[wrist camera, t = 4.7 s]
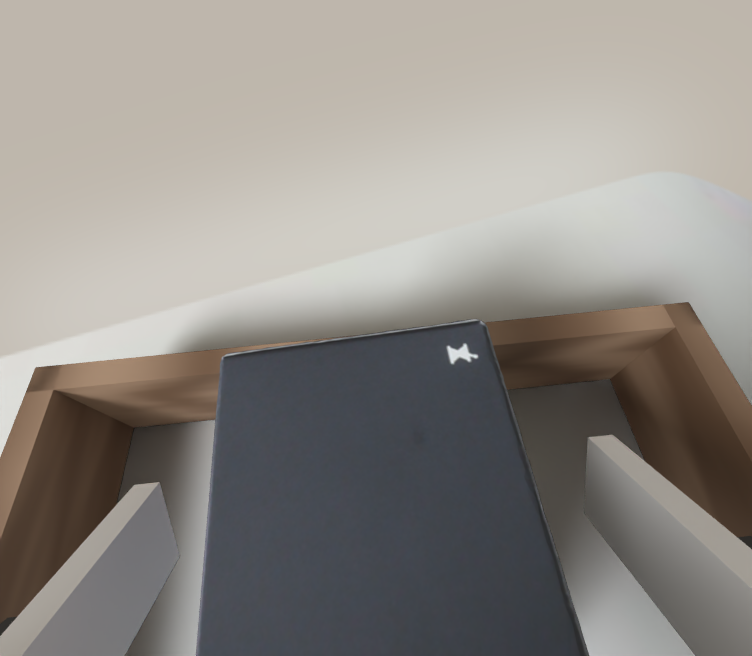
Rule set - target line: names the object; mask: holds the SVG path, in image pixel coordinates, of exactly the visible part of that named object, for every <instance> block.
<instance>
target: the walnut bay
mask: <svg viewBox="0 0 752 656" xmlns="http://www.w3.org/2000/svg"><path fill="white" fill-rule="evenodd" d="M485 324H486V325H487V327H488V330H489V334H490V337H491V340H492V344H493V347H494V351H495V354H496V357H497V360H498V363H499V366H500V370H501V372H502V375H503V378H504V383H505V386H506V388H507V390H509V389H518V388H528V387H538V386H548V385H558V384H567V383H577V382H587V381H597V380H607V379H610V381H611V383H612V385H613V388H614V390H615V392H616V395H617V397H618V399H619V401H620V404H621V406H622V408H623V411H624V413H625V415H626V418H627V420H628V422H629V425H630V427H631V429H632V432H633V434H634V436H635V439H636V441H637V443H638V446H639V448H640V450H641V453H642V455H643V457H644V460H645V462H646V463H647V464H649V465H650V466H651V467H652V468H654V469H655V470H656V471H657V472H658V473H660V474H661V475H662V476H663V477H664V478H666V479H667V480H668V481H669V482H671V483H672V484H673V485H674V486H675V487H677V488H678V489H679V490H680V491H682V492H683V493H684V494H685V495H686V496H688V497H689V498H690V499H691V500H692V501H694V502H695V503H696V504H697V505H699V506H700V507H701V508H702V509H703V510H705V511H706V512H707V513H708V514H709V515H711V516H712V517H713V518H714V519H716V520H717V521H718V522H719V523H720V524H722V525H723V526H724V527H725V528H726V529H728V530H729V531H730V532H731V533H733V534H734V535H735V536H736V537H744V536H752V406H751V404H750V402H749V401H748V399H747V397H746V396H745V394H744V393H743V391H742V389H741V388H740V386H739V384H738V383H737V381H736V379H735V378H734V376H733V374H732V373H731V371H730V370H729V368H728V366H727V365H726V363H725V361H724V360H723V358H722V356H721V355H720V353H719V351H718V350H717V348H716V347H715V345H714V343H713V342H712V340H711V338H710V337H709V335H708V333H707V332H706V330H705V328H704V327H703V325H702V324H701V322H700V320H699V319H698V317H697V315H696V314H695V312H694V310H693V309H692V307H691V305H690V304H689V302H685V303H675V304H665V305H655V306H645V307H635V308H625V309H616V310H606V311H596V312H586V313H576V314H566V315H556V316H546V317H536V318H526V319H516V320H506V321H496V322H486V323H485ZM356 336H358V335H356ZM346 337H351V336H346ZM336 338H342V337H336ZM329 339H334V338H326V339H316V340H306V341H296V342H286V343H276V344H266V345H256V346H246V347H236V348H226V349H216V350H206V351H196V352H186V353H176V354H166V355H156V356H146V357H136V358H126V359H116V360H106V361H96V362H86V363H76V364H66V365H56V366H46V367H36V368H35V370H34V373H33V375H32V378H31V381H30V383H29V386H28V388H27V391H26V393H25V396H24V398H23V401H22V404H21V406H20V409H19V411H18V414H17V416H16V419H15V421H14V424H13V427H12V429H11V432H10V434H9V437H8V439H7V442H6V444H5V447H4V450H3V452H2V455H1V457H0V623H2V622H3V621H4V620H5V619H7V618H9V617H18V615H19V614H20V613H21V612H22V611H23V610H24V609H25V608H26V606H27V605H28V604H29V603H30V602H31V601H32V600H33V599H34V597H35V596H36V595H37V594H38V593H39V592H40V591H41V590H42V588H43V587H44V586H45V585H46V584H47V583H48V582H49V580H50V579H51V578H52V577H53V576H54V575H55V574H56V573H57V571H58V570H59V569H60V568H61V567H62V566H63V565H64V564H65V562H66V561H67V560H68V559H69V558H70V557H71V556H72V555H73V553H74V552H75V551H76V550H77V549H78V548H79V547H80V545H81V544H82V543H83V542H84V541H85V540H86V539H87V538H88V536H89V535H90V534H91V533H92V532H93V531H94V530H95V529H96V527H97V526H98V525H99V524H100V523H101V522H102V521H103V520H104V518H105V517H106V516H107V515H108V514H109V513H110V512H111V510H112V509H113V508H114V507H115V506H116V503H117V499H118V495H119V490H120V486H121V482H122V477H123V473H124V469H125V464H126V460H127V455H128V451H129V447H130V442H131V438H132V434H133V429H134V428H136V427H146V426H156V425H166V424H176V423H185V422H195V421H205V420H215V419H216V407H217V397H218V386H219V377H220V362H221V359H222V357H223V356H225V355H226V354H228V353H233V352H242V351H247V350H256V349H263V348H267V347H276V346H284V345H291V344H298V343H304V342H314V341H320V340H329Z"/></svg>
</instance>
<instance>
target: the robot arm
mask: <svg viewBox="0 0 752 656" xmlns="http://www.w3.org/2000/svg"><path fill="white" fill-rule="evenodd" d="M584 514H585V515H586V516H587V517H588V519H589V520H590V521H591V522H592V524H593V525H594V526H595V528H596V529H597V530H598V531H599V533H600V534H601V535H602V537H603V538H604V539H605V540H606V542H607V543H608V544H609V546H610V547H611V548H612V549H613V551H614V552H615V553H616V554H617V556H618V557H619V558H620V560H621V561H622V562H623V563H624V565H625V566H626V567H627V569H628V570H629V571H630V572H631V574H632V575H633V576H634V578H635V579H636V580H637V581H638V583H639V584H640V585H641V586H642V588H643V589H644V590H645V592H646V593H647V594H648V595H649V597H650V598H651V599H652V601H653V602H654V603H655V604H656V606H657V607H658V608H659V610H660V611H661V612H662V613H663V615H664V616H665V617H666V618H667V620H668V621H669V622H670V624H671V625H672V626H673V627H674V629H675V630H676V631H677V633H678V634H679V635H680V636H681V638H682V639H683V640H684V642H685V643H686V644H687V645H688V647H689V648H690V649H691V650H692V652H693V653H694V654H695V656H752V536H744V537H736V536H735V535H734V534H733V533H731V532H730V531H729V530H728V529H726V528H725V527H724V526H723V525H722V524H720V523H719V522H718V521H717V520H716V519H714V518H713V517H712V516H711V515H709V514H708V513H707V512H706V511H705V510H703V509H702V508H701V507H700V506H699V505H697V504H696V503H695V502H694V501H692V500H691V499H690V498H689V497H688V496H686V495H685V494H684V493H683V492H682V491H680V490H679V489H678V488H677V487H675V486H674V485H673V484H672V483H671V482H669V481H668V480H667V479H666V478H664V477H663V476H662V475H661V474H660V473H658V472H657V471H656V470H655V469H654V468H652V467H651V466H650V465H649V464H647V463H646V462H645V461H644V460H643V459H641V458H640V457H639V456H638V455H637V454H635V453H634V452H633V451H632V450H630V449H629V448H628V447H627V446H626V445H624V444H623V443H622V442H621V441H620V440H618V439H617V438H616V437H615V436H613V435H605V436H595V437H588V444H587V463H586V482H585V501H584ZM179 557H180V554H179V550H178V547H177V543H176V540H175V536H174V532H173V529H172V525H171V521H170V518H169V514H168V511H167V507H166V503H165V500H164V496H163V493H162V489H161V485H160V482H156V483H146V484H137V485H134V486H133V487H132V488H131V489H130V490H129V491H128V492H127V494H126V495H125V496H124V497H123V498H122V499H121V500H120V501H119V503H118V504H117V505H116V506H115V507H114V508H113V509H112V510H111V512H110V513H109V514H108V515H107V516H106V517H105V518H104V520H103V521H102V522H101V523H100V524H99V525H98V526H97V527H96V529H95V530H94V531H93V532H92V533H91V534H90V535H89V536H88V538H87V539H86V540H85V541H84V542H83V543H82V544H81V545H80V547H79V548H78V549H77V550H76V551H75V552H74V553H73V555H72V556H71V557H70V558H69V559H68V560H67V561H66V562H65V564H64V565H63V566H62V567H61V568H60V569H59V570H58V571H57V573H56V574H55V575H54V576H53V577H52V578H51V579H50V580H49V582H48V583H47V584H46V585H45V586H44V587H43V588H42V590H41V591H40V592H39V593H38V594H37V595H36V596H35V597H34V599H33V600H32V601H31V602H30V603H29V604H28V605H27V606H26V608H25V609H24V610H23V611H22V612H21V613H20V614H19V615H18V617H9V618H7V619H5V620H4V621H3V622H2V623H0V656H125V654H126V653H127V651H128V649H129V647H130V645H131V644H132V642H133V640H134V638H135V636H136V634H137V633H138V631H139V629H140V627H141V625H142V624H143V622H144V620H145V618H146V616H147V615H148V613H149V611H150V609H151V607H152V606H153V604H154V602H155V600H156V598H157V597H158V595H159V593H160V591H161V589H162V588H163V586H164V584H165V582H166V580H167V579H168V577H169V575H170V573H171V571H172V569H173V568H174V566H175V564H176V562H177V560H178V559H179Z"/></svg>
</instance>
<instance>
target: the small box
mask: <svg viewBox="0 0 752 656" xmlns="http://www.w3.org/2000/svg"><path fill="white" fill-rule="evenodd" d="M196 656H589V654H588V650H587V647H586V644H585V641H584V638H583V634H582V631H581V627H580V624H579V621H578V618H577V615H576V612H575V609H574V606H573V603H572V599H571V596H570V593H569V589H568V586H567V583H566V579H565V576H564V573H563V570H562V567H561V564H560V561H559V557H558V554H557V551H556V547H555V544H554V540H553V537H552V534H551V531H550V528H549V525H548V522H547V520H546V517H545V513H544V510H543V507H542V504H541V500H540V496H539V493H538V489H537V486H536V482H535V479H534V476H533V472H532V469H531V466H530V463H529V460H528V457H527V454H526V451H525V447H524V444H523V440H522V437H521V433H520V430H519V426H518V423H517V420H516V417H515V414H514V411H513V407H512V404H511V401H510V398H509V395H508V391H507V388H506V386H505V383H504V378H503V375H502V372H501V370H500V366H499V363H498V360H497V357H496V354H495V351H494V347H493V344H492V340H491V337H490V334H489V330H488V327H487V325H486V324H485V323H484V322H483V321H481V320H479V319H469V320H464V321H457V322H452V323H444V324H439V325H434V326H424V327H415V328H409V329H401V330H392V331H385V332H379V333H372V334H365V335H358V336H351V337H342V338H334V339H329V340H320V341H314V342H304V343H298V344H291V345H284V346H276V347H267V348H263V349H256V350H247V351H242V352H233V353H228V354H226V355H225V356H223V357H222V359H221V362H220V377H219V386H218V397H217V407H216V420H215V432H214V444H213V457H212V469H211V481H210V493H209V505H208V517H207V529H206V541H205V553H204V564H203V576H202V588H201V600H200V611H199V623H198V636H197V649H196Z"/></svg>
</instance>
